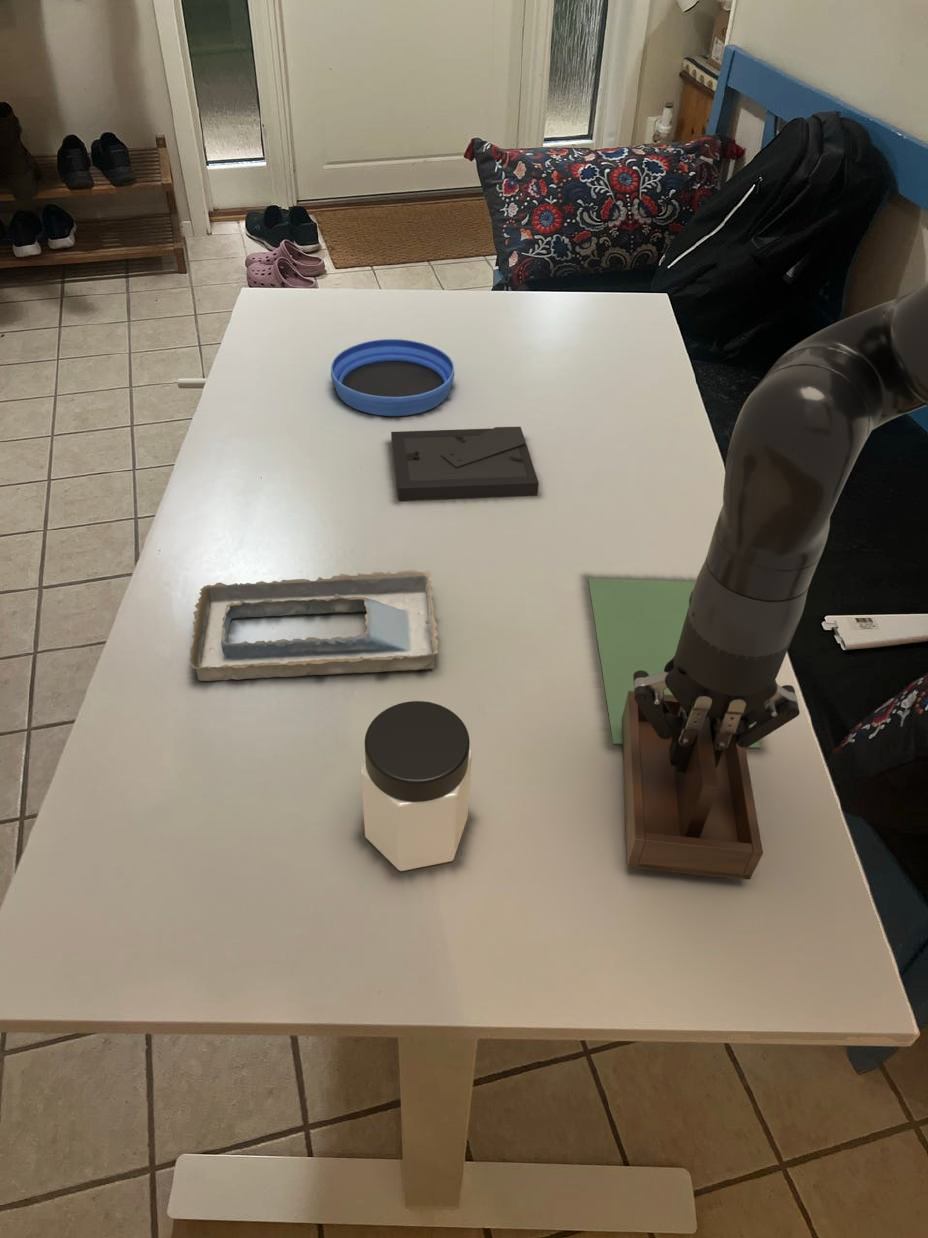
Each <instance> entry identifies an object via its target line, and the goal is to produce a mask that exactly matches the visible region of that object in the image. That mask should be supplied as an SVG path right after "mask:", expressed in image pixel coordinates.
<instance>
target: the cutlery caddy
mask: <svg viewBox="0 0 928 1238" xmlns="http://www.w3.org/2000/svg"><path fill="white" fill-rule="evenodd" d="M663 699H664V700H665V702H666V703H667V705H668V707H669V708H670V710H671V714H674V715H676V716H678V713H679V710H680V707H681V706H680V704H679V703H678V701H677V700H676V699H675V697H674V696H673V695H666V694H664V698H663ZM711 718H712V717H705V720H704V722H703V725H702V728H701V730H700V731H698V732H697V735H696V738H695V740H694V743H693V746H694V748H693V751H692V754H691V757H690V760H689V763H688V766H687V769H686V772H685V773H684V772H676V766H672V765H671V762H670V752H669V747H670V744H671V741H672V738H669V739H661V738H660V737H659V736H658V735H657V733H656V732H655V730H654V729H653V727H652V726H651V724H650V723H649V721H648V719H647V718H646V716H645V715H644V713H643V712H642V710H641V709H640V707H639V706H638V704H637V702H636V701H635V699H634V691H628V695H627V699H626V703H625V707H624V711H623V715H622V741H623V745H622V758H623V759H622V762H623V763H622V764H623V765H622V767H623V788H624V789H623V791H624V793H623V794H624V815H625V816H624V817H625V838H626V842H625V843H626V866H627V867H628V868H636V869H637V868H638V869H643V870H644V869H645V870H654V871H663V872H673V873H680V874H681V873H683V874H692V875H700V876H701V875H702V876H710V877H719V878H729V879H737V880H738V879H739V880H748V881H750V880H751V879H752V877H753V875H754V873H755V871H756V869H757V867H758V865H759V863H760V861H761V858H762V856H763V854H764V851H763V850H764V849H763V845H762V839H761V838H762V837H761V833H760V827H759V821H758V814H757V808H756V803H755V798H754V792H753V785H752V779H751V773H750V767H749V762H748V761H749V760H748V756H747V755H748V754H747V748H743V747H740V746H738V745H737V743H735V744H729V745H728V747H727V748H726V749H724V750H723V753H722V755H721V758H720V761H719V763H718V766H717V767H716V765H715V757H714V750H713V742H712V735H711V727H710V721H711Z"/></svg>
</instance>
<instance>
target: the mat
mask: <svg viewBox="0 0 928 1238" xmlns="http://www.w3.org/2000/svg"><path fill="white" fill-rule="evenodd" d="M587 582H588V589H589V594H590V601H591V607H592V612H593V613H592V615H593V621H594V628H595V635H596V640H597V647H598V655H599V661H600V667H601V674H602V680H603V687H604V693H605V694H604V695H605V700H606V707H607V713H608V714H607V715H608V721H609V728H610V734H611V740H612V745H614V746H615V745H616V746H623V741H622V715H623V711H624V707H625V703H626V699H627V695H628V691H634V681H633V674H634V673H635V672H636V671H640V670H642V671H646V672H647V673H648V674H649V676H650V675H654V674H657V673H660V672H664V668H665V666H666V664H667V663H668V662H669V661H670V660H671V659H672V658H673V657H674V656H675V653H676V650H677V646H678V642H679V639H680V635H681V632H682V628H683V625H684V621H685V618H686V614H687V611H688V607H689V598H690V594H691V591H692V590H693V589H694V586H695V583H696V581H687V580H684V581H683V580H656V579H654V580H653V579H652V580H651V579H623V578H622V579H621V578H620V579H619V578H591V577H590V578H589V577H588V578H587ZM664 694H666V695H673V694H672V693H671V692H670V690H669V689H668V688H666V689H665V690H664ZM754 725H755V724H754V723H753V724H751V725H750V728H751V727H752V726H754ZM745 748H746V749H755V750H756V749H758V750H759V749H761V746H760V742H759V741H757V742H756V743H754V744H752V745H751V746H749V747H745Z"/></svg>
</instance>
